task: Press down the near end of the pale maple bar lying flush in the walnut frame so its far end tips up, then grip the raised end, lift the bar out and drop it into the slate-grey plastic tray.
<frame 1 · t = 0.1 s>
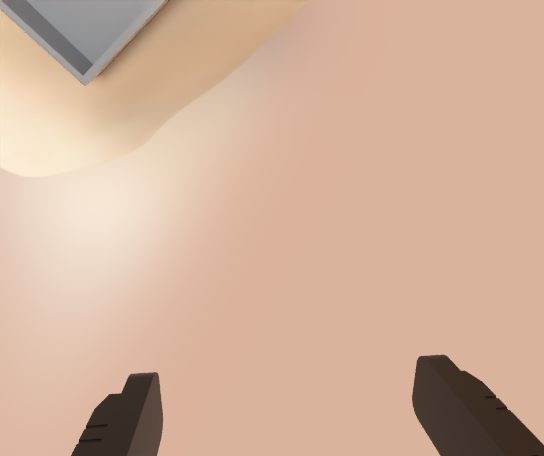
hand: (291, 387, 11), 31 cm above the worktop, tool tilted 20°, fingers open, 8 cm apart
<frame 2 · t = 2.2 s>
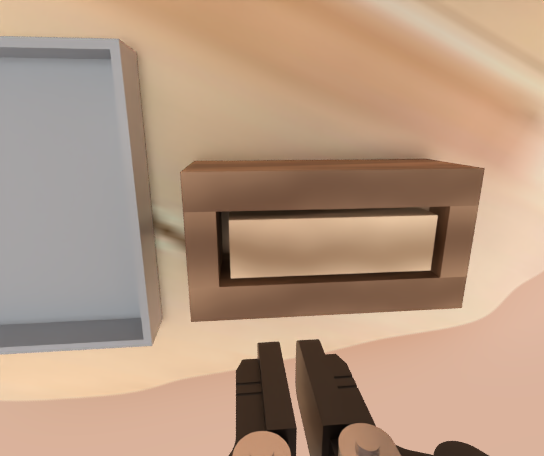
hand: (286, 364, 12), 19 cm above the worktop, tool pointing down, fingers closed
slate tray: (7, 202, 28), on the worktop
walnut frame: (312, 219, 30), on the worktop
maple bar: (325, 235, 26), point 5 cm above the worktop, touching walnut frame
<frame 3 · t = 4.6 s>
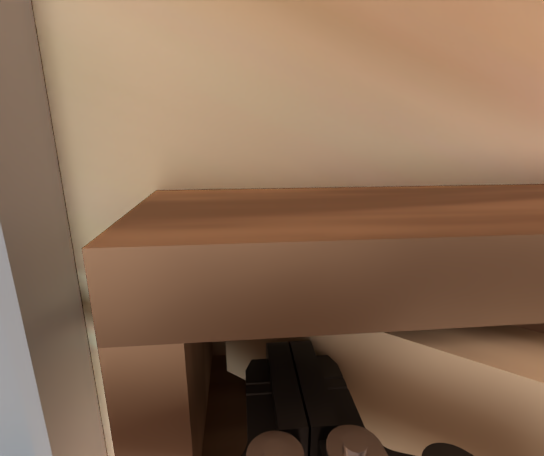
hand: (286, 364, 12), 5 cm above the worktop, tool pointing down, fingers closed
walnut frame: (373, 291, 17), on the worktop
maple bar: (427, 357, 12), point 5 cm above the worktop, tilted 40°, touching gripper, walnut frame
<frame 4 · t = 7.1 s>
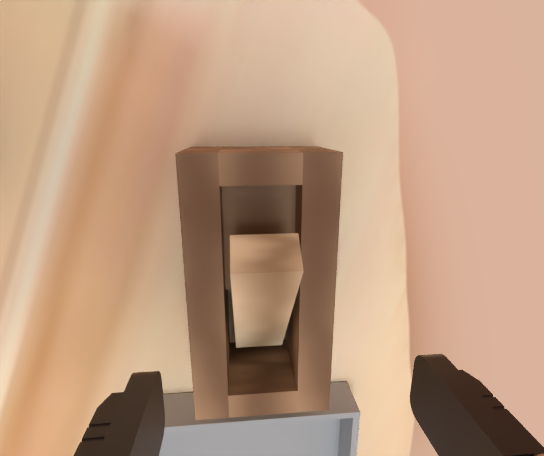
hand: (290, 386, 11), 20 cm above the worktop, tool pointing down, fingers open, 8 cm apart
walnut frame: (256, 260, 31), on the worktop
maple bar: (260, 285, 26), point 5 cm above the worktop, tilted 40°, touching walnut frame
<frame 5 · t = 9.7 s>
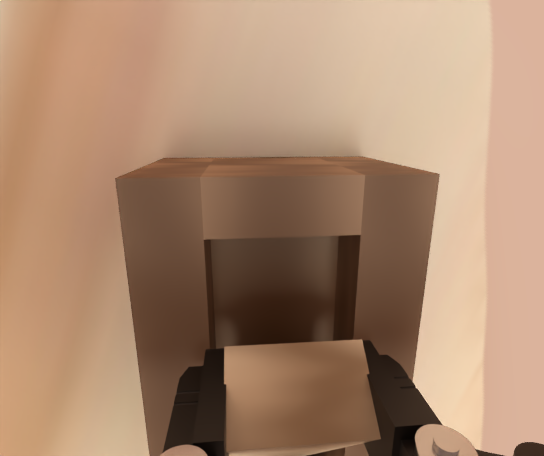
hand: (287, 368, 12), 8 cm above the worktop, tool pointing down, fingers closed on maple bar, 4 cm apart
walnut frame: (266, 326, 21), on the worktop
maple bar: (276, 389, 16), point 5 cm above the worktop, tilted 40°, touching gripper, walnut frame
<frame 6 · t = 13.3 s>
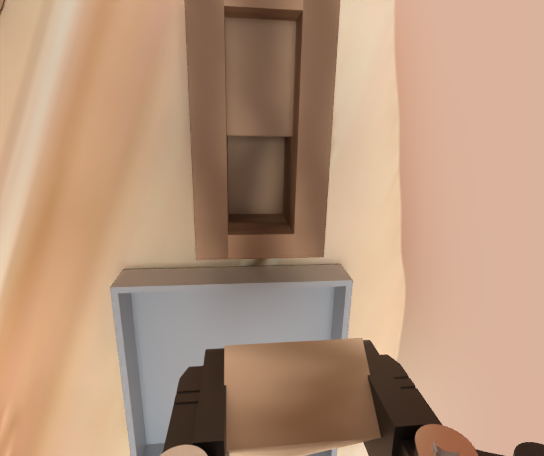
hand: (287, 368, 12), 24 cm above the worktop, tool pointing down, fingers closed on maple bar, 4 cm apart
slate tray: (236, 358, 39), on the worktop
walnut frame: (256, 129, 32), on the worktop
maple bar: (276, 388, 16), point 20 cm above the worktop, tilted 39°, touching gripper
when the fingers open (12 cm above the worktop, at t = 16.8 s): maple bar drops 8 cm, resting on slate tray.
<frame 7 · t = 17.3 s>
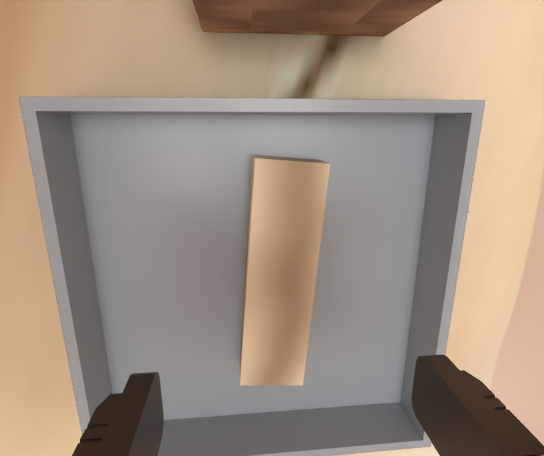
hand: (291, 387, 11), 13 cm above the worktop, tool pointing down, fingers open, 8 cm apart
slate tray: (262, 278, 23), on the worktop
maple bar: (276, 267, 23), point 1 cm above the worktop, touching slate tray
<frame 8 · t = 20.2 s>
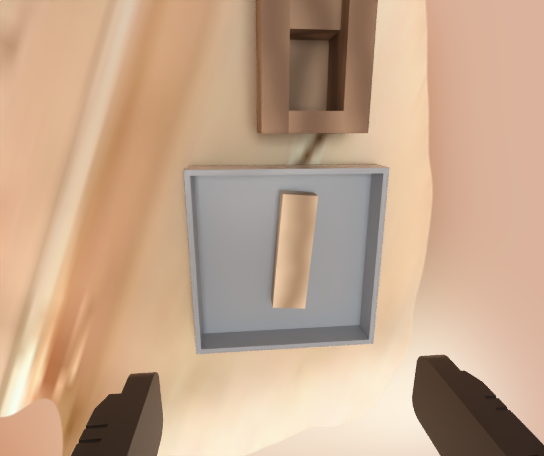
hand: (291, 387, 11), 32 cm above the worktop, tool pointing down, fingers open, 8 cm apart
slate tray: (283, 253, 44), on the worktop
walnut frame: (304, 37, 37), on the worktop
maple bar: (291, 247, 43), point 1 cm above the worktop, touching slate tray
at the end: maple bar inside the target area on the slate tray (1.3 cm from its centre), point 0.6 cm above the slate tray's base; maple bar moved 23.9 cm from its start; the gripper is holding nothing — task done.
